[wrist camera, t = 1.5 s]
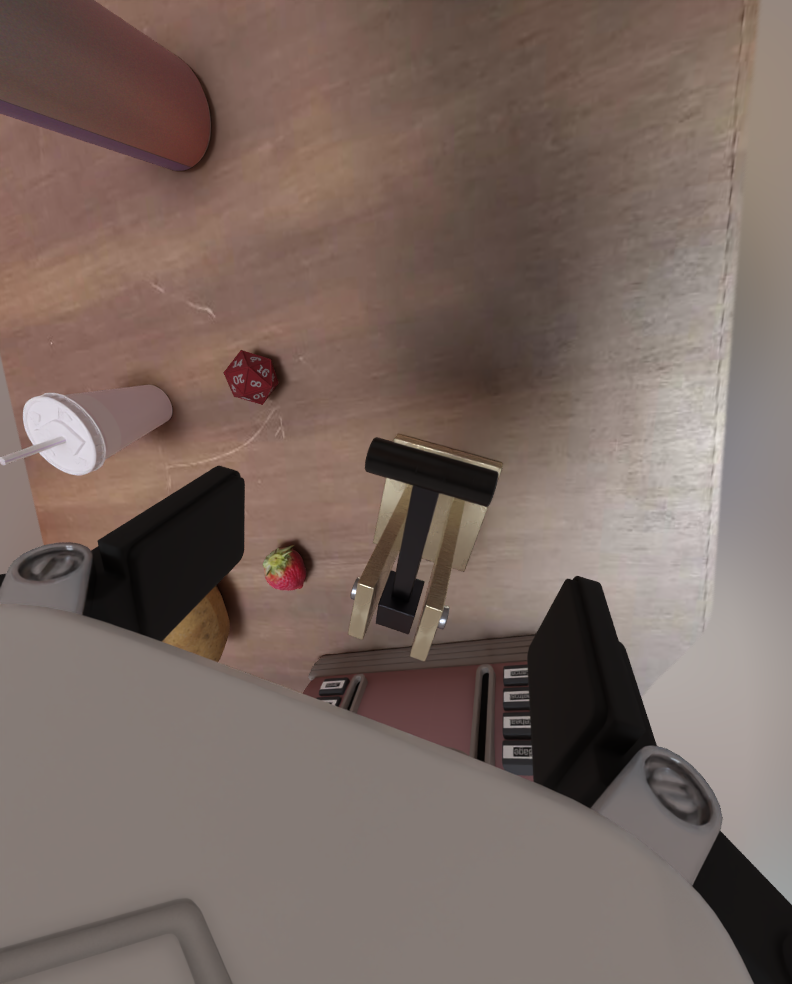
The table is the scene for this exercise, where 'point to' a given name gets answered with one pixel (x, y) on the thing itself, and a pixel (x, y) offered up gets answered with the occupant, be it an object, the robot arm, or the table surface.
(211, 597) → the potato
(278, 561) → the fruit
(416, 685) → the toaster
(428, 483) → the lever
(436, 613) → the bracket
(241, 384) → the dice
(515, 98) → the table surface
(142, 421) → the smoothie
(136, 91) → the beverage can
